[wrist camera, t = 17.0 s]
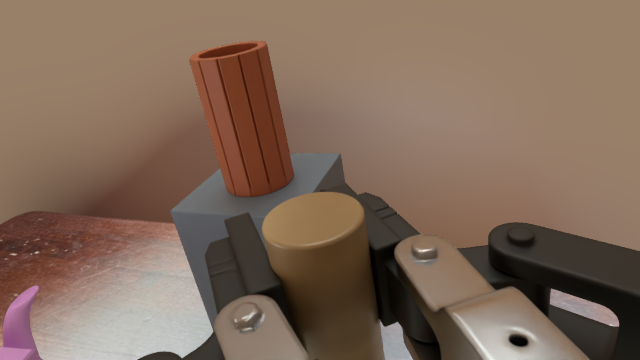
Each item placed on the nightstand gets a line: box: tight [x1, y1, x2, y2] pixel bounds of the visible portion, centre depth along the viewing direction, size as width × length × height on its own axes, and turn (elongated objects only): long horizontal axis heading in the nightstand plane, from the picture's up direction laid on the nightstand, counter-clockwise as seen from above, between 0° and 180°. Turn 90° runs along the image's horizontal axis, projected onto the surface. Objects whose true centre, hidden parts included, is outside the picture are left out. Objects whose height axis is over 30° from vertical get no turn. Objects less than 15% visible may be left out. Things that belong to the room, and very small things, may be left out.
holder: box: [171, 41, 345, 331], centre depth 29 cm, size 8×8×20 cm
